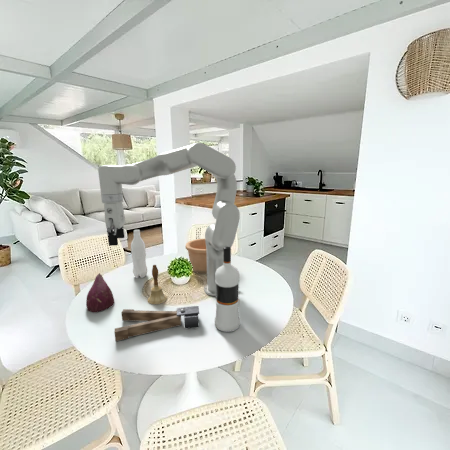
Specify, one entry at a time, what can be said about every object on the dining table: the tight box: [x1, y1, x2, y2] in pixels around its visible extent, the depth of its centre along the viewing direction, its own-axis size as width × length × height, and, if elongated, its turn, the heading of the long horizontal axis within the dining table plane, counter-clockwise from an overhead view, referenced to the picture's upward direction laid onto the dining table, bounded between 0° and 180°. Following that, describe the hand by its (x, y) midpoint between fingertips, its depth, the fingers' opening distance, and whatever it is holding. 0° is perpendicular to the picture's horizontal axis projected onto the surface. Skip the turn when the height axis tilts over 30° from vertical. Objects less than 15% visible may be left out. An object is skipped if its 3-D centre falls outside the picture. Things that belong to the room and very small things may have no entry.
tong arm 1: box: [113, 315, 182, 342], centre depth 88 cm, size 22×2×4 cm, turn 111°
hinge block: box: [176, 305, 200, 330], centre depth 93 cm, size 8×7×6 cm
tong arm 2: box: [121, 308, 177, 322], centre depth 95 cm, size 22×2×4 cm, turn 87°
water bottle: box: [130, 229, 148, 279], centre depth 130 cm, size 7×7×25 cm
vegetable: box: [85, 273, 115, 314], centre depth 105 cm, size 10×10×15 cm
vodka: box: [214, 246, 241, 333], centre depth 89 cm, size 9×9×30 cm
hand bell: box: [147, 264, 168, 305], centre depth 108 cm, size 8×8×16 cm
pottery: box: [185, 238, 207, 275], centre depth 142 cm, size 22×22×14 cm
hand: (117, 241), depth 100 cm, fingers open, 9 cm apart
